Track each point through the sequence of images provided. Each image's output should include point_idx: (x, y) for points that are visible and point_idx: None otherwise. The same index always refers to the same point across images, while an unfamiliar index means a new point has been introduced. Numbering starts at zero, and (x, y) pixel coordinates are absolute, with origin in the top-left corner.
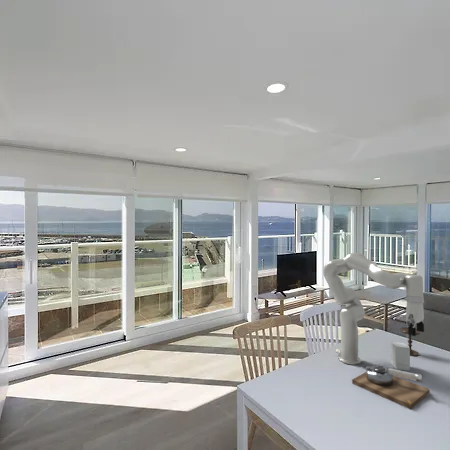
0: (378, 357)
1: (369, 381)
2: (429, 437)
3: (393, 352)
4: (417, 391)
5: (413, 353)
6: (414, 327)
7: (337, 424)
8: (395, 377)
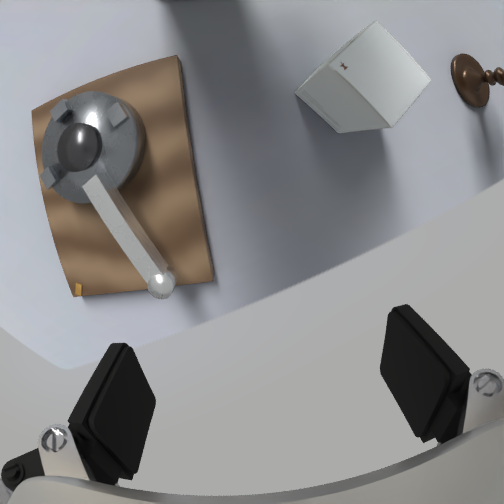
0: (337, 4)
1: None
2: (52, 350)
3: (333, 54)
4: None
5: (473, 92)
6: (111, 479)
7: None
8: (178, 157)
